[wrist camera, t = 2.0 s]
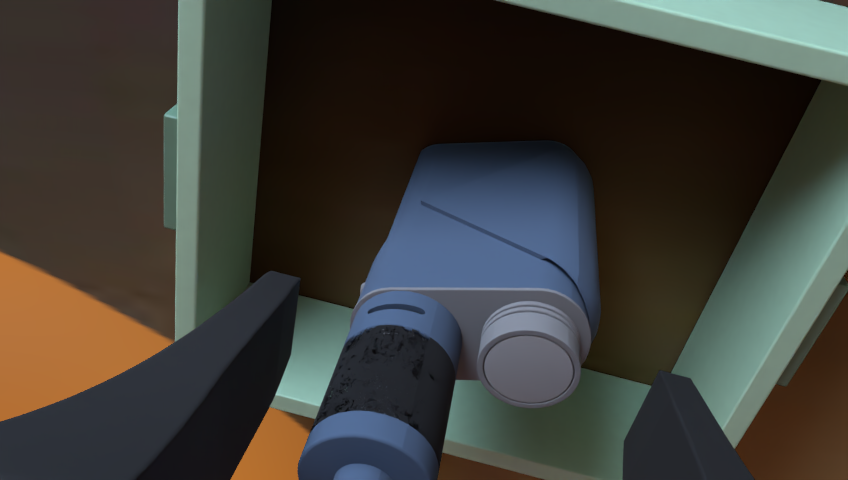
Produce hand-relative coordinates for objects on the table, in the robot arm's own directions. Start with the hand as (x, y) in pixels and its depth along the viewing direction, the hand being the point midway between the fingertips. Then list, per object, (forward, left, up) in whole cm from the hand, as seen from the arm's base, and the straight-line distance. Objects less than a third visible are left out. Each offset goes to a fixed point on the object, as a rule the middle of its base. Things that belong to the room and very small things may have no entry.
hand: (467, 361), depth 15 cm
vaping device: (0, 0, -8) cm, 8 cm away
